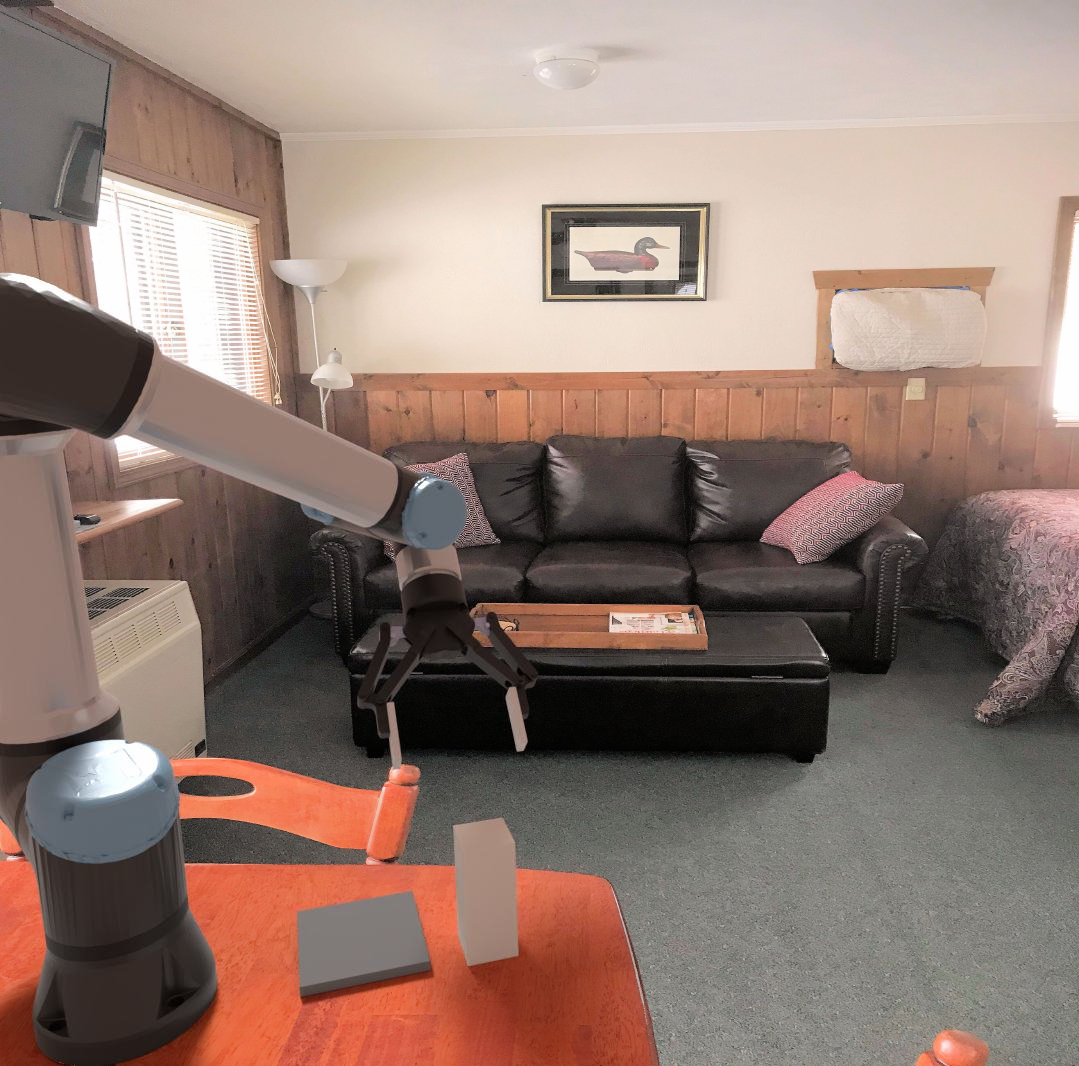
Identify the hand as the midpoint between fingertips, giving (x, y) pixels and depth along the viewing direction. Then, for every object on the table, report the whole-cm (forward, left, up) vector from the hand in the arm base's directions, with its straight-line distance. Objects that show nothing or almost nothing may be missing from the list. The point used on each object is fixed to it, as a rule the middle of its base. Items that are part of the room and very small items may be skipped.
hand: (461, 755), depth 96 cm
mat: (-12, -7, -15) cm, 21 cm away
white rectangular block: (0, -11, -15) cm, 19 cm away
